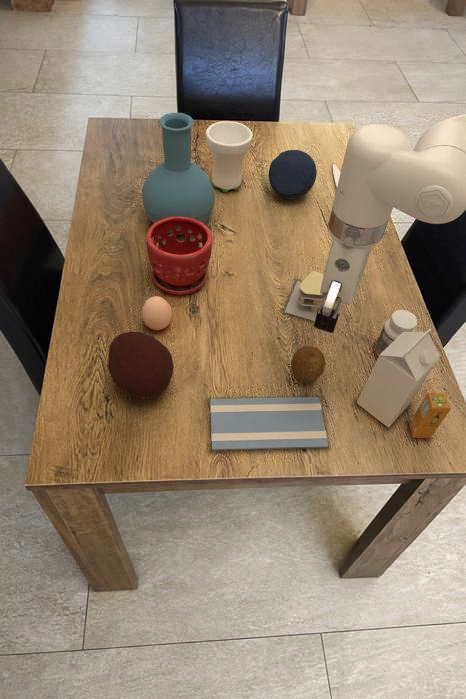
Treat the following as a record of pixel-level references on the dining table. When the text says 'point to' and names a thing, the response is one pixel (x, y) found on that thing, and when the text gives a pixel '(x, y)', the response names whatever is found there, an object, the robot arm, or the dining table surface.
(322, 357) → the fruit
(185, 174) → the vase
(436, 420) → the supplement box
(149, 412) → the dining table surface
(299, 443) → the towel
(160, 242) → the flower pot
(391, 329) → the pill bottle
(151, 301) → the egg
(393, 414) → the milk carton
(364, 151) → the robot arm
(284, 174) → the decorative stone
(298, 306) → the stacked layers on plate
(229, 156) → the cup
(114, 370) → the potato
